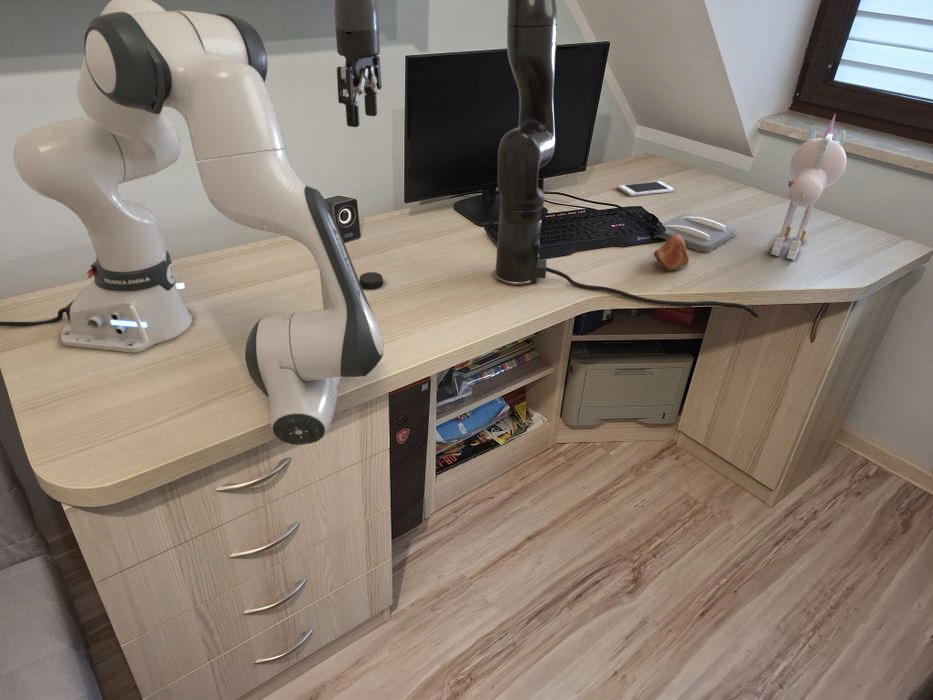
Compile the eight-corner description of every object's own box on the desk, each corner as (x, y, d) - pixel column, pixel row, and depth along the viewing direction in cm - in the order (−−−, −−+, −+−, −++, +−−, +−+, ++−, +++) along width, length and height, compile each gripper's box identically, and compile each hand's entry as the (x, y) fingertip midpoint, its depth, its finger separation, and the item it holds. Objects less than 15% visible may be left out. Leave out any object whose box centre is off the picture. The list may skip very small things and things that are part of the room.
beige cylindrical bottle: (341, 316, 128) (334, 244, 119) (350, 325, 125) (344, 252, 116) (322, 321, 126) (314, 249, 117) (330, 331, 123) (322, 257, 114)
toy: (826, 222, 178) (867, 110, 161) (806, 269, 152) (852, 142, 135) (779, 212, 183) (814, 103, 167) (751, 256, 157) (789, 132, 141)
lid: (377, 291, 137) (377, 284, 136) (355, 287, 138) (355, 280, 137) (386, 280, 141) (386, 273, 140) (365, 277, 142) (364, 270, 141)
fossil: (662, 265, 143) (667, 221, 144) (634, 267, 151) (640, 225, 151) (699, 275, 150) (704, 233, 150) (671, 277, 157) (676, 237, 157)
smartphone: (617, 188, 196) (618, 185, 196) (659, 183, 201) (660, 180, 200) (630, 196, 191) (630, 193, 190) (673, 191, 196) (674, 188, 195)
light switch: (708, 241, 156) (653, 223, 165) (705, 253, 158) (650, 234, 167) (740, 223, 167) (687, 206, 176) (737, 234, 169) (684, 217, 178)
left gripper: (379, 348, 99) (383, 304, 111) (245, 349, 98) (263, 304, 109) (381, 380, 103) (384, 334, 114) (251, 381, 101) (268, 335, 113)
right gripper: (353, 19, 118) (359, 110, 127) (318, 28, 106) (327, 128, 115) (392, 22, 116) (394, 114, 125) (360, 31, 105) (366, 132, 114)
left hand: (324, 319), depth 112 cm, fingers open, 8 cm apart
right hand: (362, 120), depth 120 cm, fingers open, 8 cm apart
